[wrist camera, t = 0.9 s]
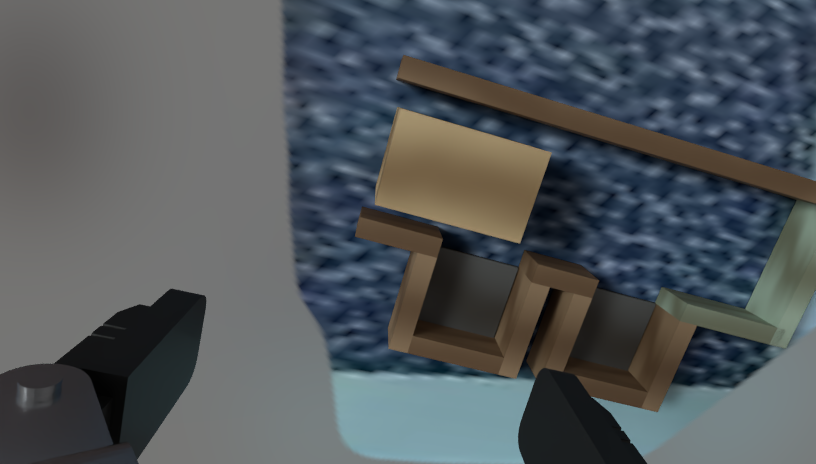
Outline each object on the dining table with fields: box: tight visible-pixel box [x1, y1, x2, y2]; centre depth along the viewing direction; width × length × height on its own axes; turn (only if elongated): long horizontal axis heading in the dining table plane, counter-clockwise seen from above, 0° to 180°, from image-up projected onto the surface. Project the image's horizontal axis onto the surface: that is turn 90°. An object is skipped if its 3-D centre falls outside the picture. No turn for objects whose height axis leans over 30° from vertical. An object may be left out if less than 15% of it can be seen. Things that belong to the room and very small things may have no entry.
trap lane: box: [355, 55, 816, 412], centre depth 32 cm, size 17×29×3 cm, turn 74°
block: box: [375, 107, 551, 243], centre depth 29 cm, size 5×8×6 cm, turn 74°
